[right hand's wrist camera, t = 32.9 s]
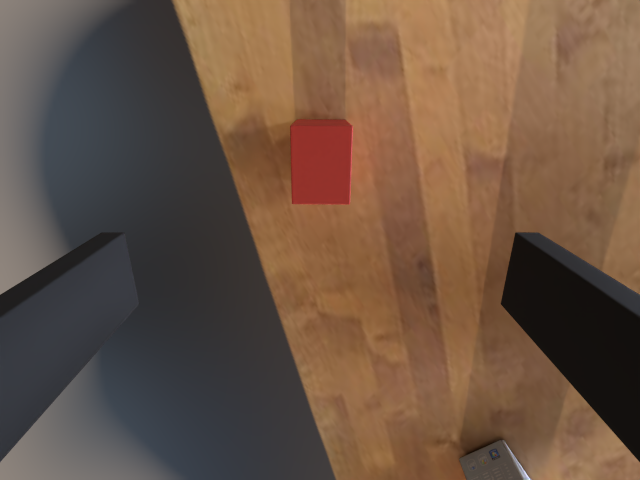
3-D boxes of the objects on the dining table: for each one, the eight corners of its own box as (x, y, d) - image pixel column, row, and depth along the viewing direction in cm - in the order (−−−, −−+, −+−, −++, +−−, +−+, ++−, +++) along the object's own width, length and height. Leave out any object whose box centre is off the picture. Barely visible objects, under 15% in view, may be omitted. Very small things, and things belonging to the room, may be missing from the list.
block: (345, 119, 39) (352, 125, 30) (343, 182, 41) (350, 204, 33) (296, 119, 39) (290, 125, 30) (297, 182, 41) (291, 204, 32)
